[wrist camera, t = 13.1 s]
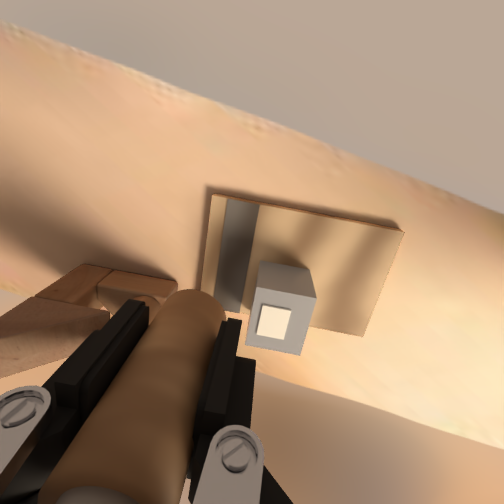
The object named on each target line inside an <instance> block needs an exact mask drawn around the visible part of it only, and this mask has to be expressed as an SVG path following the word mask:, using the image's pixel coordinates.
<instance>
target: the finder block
mask: <svg viewBox="0 0 504 504" xmlns="http://www.w3.org/2000/svg"><path fill="white" fill-rule="evenodd" d="M316 300H317V297H316V293H315V289H314V284H313V280H312V276H311V272H310V270H309V269H303V268H298V267H293V266H288V265H282V264H277V263H272V262H267V261H261V260H260V264H259V269H258V274H257V279H256V284H255V289H254V294H253V299H252V304H251V309H250V315H249V322H248V328H247V335H246V341H245V345H248V346H253V347H258V348H263V349H268V350H274V351H279V352H284V353H289V354H294V355H299V356H300V354H301V350H302V347H303V344H304V340H305V337H306V333H307V330H308V327H309V323H310V320H311V317H312V313H313V310H314V307H315V303H316Z"/></svg>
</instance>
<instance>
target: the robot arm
mask: <svg viewBox="0 0 504 504" xmlns="http://www.w3.org/2000/svg"><path fill="white" fill-rule="evenodd" d="M241 324H242V320H238V319H233V318H228V320H227V321H223V320H222V322H221V325H220V329H219V332H218V335H217V339H216V342H215V346H214V349H213V353H212V356H211V360H210V363H209V366H208V370H207V373H206V377H205V380H204V384H203V387H202V391H201V394H200V398H199V401H198V405H197V410H196V415H195V422H194V429H193V436H192V438H193V444H194V446H193V452H192V456H191V460H190V464H189V468H188V471H187V478H188V479H191V483H190V490H189V497H188V499H189V501H190V503H191V504H293V503H292V501H291V500H290V499H289V497H288V496H287V495H286V493H285V492H284V491H283V490H282V488H281V487H280V486H279V484H278V483H277V482H276V480H275V479H274V478H273V476H272V475H271V474H270V472H269V471H268V470H267V469H266V467H265V466H264V465H263V464H264V449H263V446H262V443H261V440H260V439H259V438H258V436H257V435H256V434H255V433H254V432H253V431H252V430H250V424H251V412H252V402H253V389H254V378H255V367H256V360H254V359H249V358H243V357H238V356H236V352H237V346H238V341H239V335H240V330H241ZM148 326H149V306H145V302H144V301H139V300H134V299H128V300H127V301H126V302H125V303H124V304H123V305H122V307H121V308H120V309H119V310H118V311H117V312H116V313H115V314H114V315H113V317H112V318H111V319H110V320H109V321H108V322H107V323H106V324H105V325H104V327H103V328H102V329H101V330H98V329H97V330H94V331H93V332H92V333H91V334H90V335H89V336H88V337H87V338H86V339H85V340H84V341H83V343H82V344H81V345H80V346H79V347H78V348H77V349H76V350H75V351H74V352H73V353H72V354H71V355H70V357H69V358H68V359H67V360H66V361H65V362H64V363H63V364H62V365H61V366H60V367H59V368H58V369H57V371H56V372H55V373H54V374H53V375H52V376H51V377H50V378H49V379H48V380H47V381H46V382H45V383H44V384H43V386H42V387H39V386H24V387H19V388H16V389H13V390H10V391H8V392H6V393H4V394H2V395H1V396H0V504H38V494H39V491H40V489H41V487H42V486H43V484H44V483H45V481H46V480H47V478H48V477H49V475H50V474H51V472H52V471H53V469H54V468H55V466H56V465H57V463H58V462H59V460H60V459H61V457H62V456H63V454H64V453H65V451H66V450H67V448H68V447H69V445H70V444H71V442H72V441H73V439H74V438H75V436H76V435H77V433H78V432H79V430H80V429H81V427H82V426H83V424H84V423H85V421H86V420H87V418H88V417H89V415H90V414H91V412H92V411H93V409H94V408H95V406H96V405H97V403H98V402H99V400H100V399H101V397H102V396H103V394H104V393H105V391H106V390H107V388H108V387H109V385H110V384H111V382H112V381H113V379H114V378H115V376H116V375H117V373H118V372H119V370H120V369H121V367H122V366H123V364H124V363H125V361H126V360H127V358H128V357H129V355H130V354H131V352H132V351H133V349H134V348H135V346H136V345H137V343H138V342H139V340H140V338H141V337H142V335H143V334H144V332H145V331H146V329H147V328H148Z"/></svg>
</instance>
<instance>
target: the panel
mask: <svg viewBox="0 0 504 504" xmlns="http://www.w3.org/2000/svg"><path fill="white" fill-rule="evenodd" d="M404 233H405V232H403V231H402V230H401V229H397V228H392V227H386V226H381V225H376V224H371V223H366V222H360V221H355V220H350V219H345V218H340V217H335V216H329V215H324V214H319V213H314V212H309V211H304V210H298V209H293V208H288V207H283V206H278V205H272V204H267V203H262V202H257V201H252V200H247V199H241V198H236V197H231V196H226V195H221V194H216V193H214V194H213V195H212V200H211V208H210V216H209V224H208V232H207V241H206V249H205V257H204V265H203V273H202V281H201V289H200V291H203V292H205V293H207V294H209V295H211V296H212V297H214V298H215V299H216V300H217V301H218V302H219V303H220V304H221V306H222V307H223V309H224V310H225V311H230V312H235V313H243V314H248V315H250V309H251V304H252V299H253V294H254V289H255V284H256V279H257V274H258V269H259V264H260V260H261V261H267V262H272V263H277V264H282V265H288V266H293V267H298V268H303V269H309V270H310V272H311V276H312V280H313V284H314V289H315V293H316V297H317V300H316V303H315V307H314V310H313V313H312V317H311V320H310V323H309V327H315V328H320V329H325V330H330V331H335V332H340V333H345V334H350V335H355V336H360V337H363V336H364V333H365V331H366V328H367V326H368V323H369V321H370V318H371V316H372V313H373V311H374V308H375V306H376V303H377V301H378V298H379V296H380V293H381V291H382V288H383V285H384V283H385V280H386V278H387V275H388V273H389V270H390V268H391V265H392V263H393V260H394V258H395V255H396V253H397V250H398V248H399V245H400V243H401V240H402V238H403V235H404Z"/></svg>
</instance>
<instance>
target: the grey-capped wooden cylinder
mask: <svg viewBox="0 0 504 504" xmlns="http://www.w3.org/2000/svg"><path fill="white" fill-rule="evenodd" d="M222 320H223V321H226V315H225V312H224V309H223V307H222V306H221V304H220V303H219V302H218V301H217V300H216V299H215V298H214V297H212V296H211V295H209V294H207V293H205V292H203V291H199V290H193V289H187V290H181V291H178V292H175V293H174V294H172V295H171V296H169V297H168V298H167V300H166V301H165V302H164V304H163V305H162V307H161V308H160V310H159V311H158V313H157V314H156V316H155V317H154V319H153V320H152V322H151V323H150V325H149V326H148V328H147V329H146V331H145V332H144V334H143V335H142V337H141V338H140V340H139V342H138V343H137V345H136V346H135V348H134V349H133V351H132V352H131V354H130V355H129V357H128V358H127V360H126V361H125V363H124V364H123V366H122V367H121V369H120V370H119V372H118V373H117V375H116V376H115V378H114V379H113V381H112V382H111V384H110V385H109V387H108V388H107V390H106V391H105V393H104V394H103V396H102V397H101V399H100V400H99V402H98V403H97V405H96V406H95V408H94V409H93V411H92V412H91V414H90V415H89V417H88V418H87V420H86V421H85V423H84V424H83V426H82V427H81V429H80V430H79V432H78V433H77V435H76V436H75V438H74V439H73V441H72V442H71V444H70V445H69V447H68V448H67V450H66V451H65V453H64V454H63V456H62V457H61V459H60V460H59V462H58V463H57V465H56V466H55V468H54V469H53V471H52V472H51V474H50V475H49V477H48V478H47V480H46V481H45V483H44V484H43V486H42V487H41V489H40V491H39V494H38V504H179V502H180V498H181V494H182V491H183V487H184V483H185V479H186V475H187V471H188V468H189V464H190V460H191V456H192V452H193V446H194V444H193V438H192V436H193V429H194V422H195V415H196V410H197V405H198V401H199V398H200V394H201V391H202V387H203V384H204V380H205V377H206V373H207V370H208V366H209V363H210V360H211V356H212V353H213V349H214V346H215V342H216V339H217V335H218V332H219V329H220V325H221V322H222Z"/></svg>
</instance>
